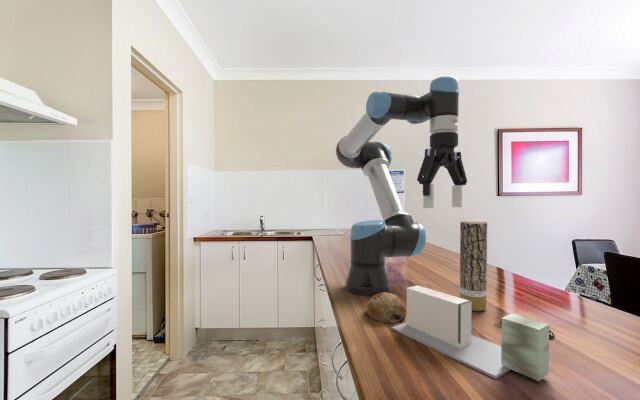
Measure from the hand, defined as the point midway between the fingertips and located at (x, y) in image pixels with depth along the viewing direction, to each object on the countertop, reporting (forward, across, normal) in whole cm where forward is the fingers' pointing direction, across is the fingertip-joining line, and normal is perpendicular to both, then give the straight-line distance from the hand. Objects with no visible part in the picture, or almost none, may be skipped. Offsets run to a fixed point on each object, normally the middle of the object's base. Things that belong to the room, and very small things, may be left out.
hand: (443, 207), depth 87 cm
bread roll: (+29, -18, +5) cm, 35 cm away
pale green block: (+28, -17, -28) cm, 43 cm away
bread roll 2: (+29, +2, -20) cm, 36 cm away
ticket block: (+29, -17, -13) cm, 36 cm away
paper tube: (+29, +7, -5) cm, 30 cm away
